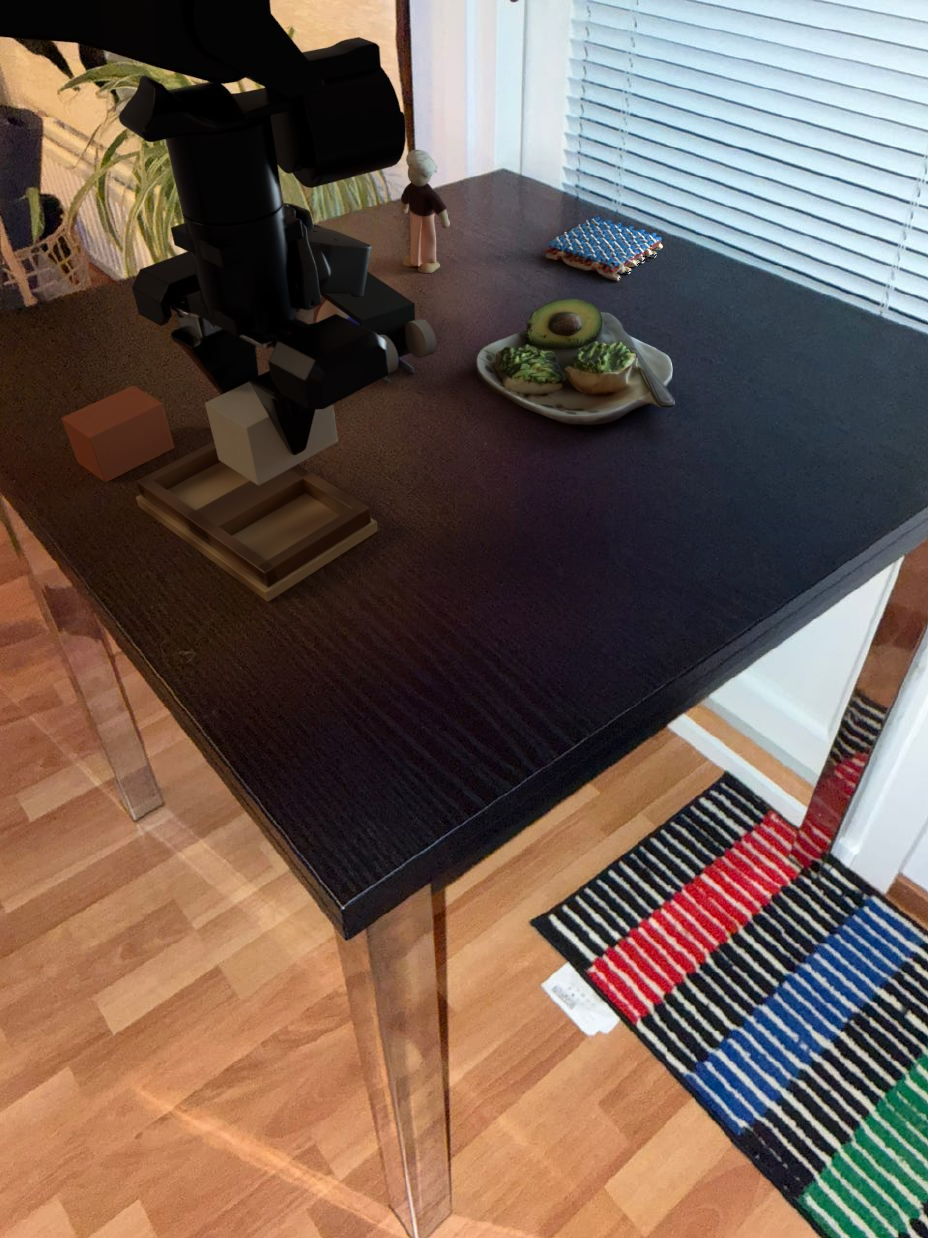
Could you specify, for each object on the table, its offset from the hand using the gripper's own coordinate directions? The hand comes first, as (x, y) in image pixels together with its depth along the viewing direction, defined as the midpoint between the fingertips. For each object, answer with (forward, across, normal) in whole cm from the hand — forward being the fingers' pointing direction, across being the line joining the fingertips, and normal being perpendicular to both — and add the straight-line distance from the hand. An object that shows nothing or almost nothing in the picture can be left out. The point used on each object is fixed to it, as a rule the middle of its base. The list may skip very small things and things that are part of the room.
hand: (276, 438), depth 64 cm
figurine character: (+11, +18, -24) cm, 32 cm away
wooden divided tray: (+11, +6, -1) cm, 12 cm away
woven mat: (+11, +16, -59) cm, 62 cm away
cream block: (+1, 0, 0) cm, 1 cm away
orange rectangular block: (+11, +22, +2) cm, 24 cm away
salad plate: (+11, +1, -35) cm, 37 cm away
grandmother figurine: (+11, +29, -43) cm, 53 cm away
